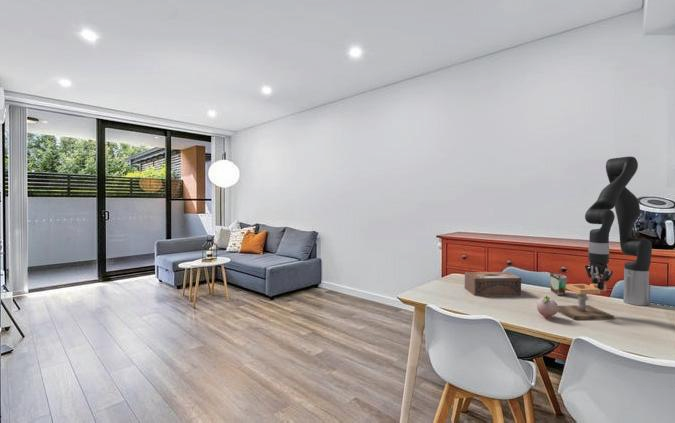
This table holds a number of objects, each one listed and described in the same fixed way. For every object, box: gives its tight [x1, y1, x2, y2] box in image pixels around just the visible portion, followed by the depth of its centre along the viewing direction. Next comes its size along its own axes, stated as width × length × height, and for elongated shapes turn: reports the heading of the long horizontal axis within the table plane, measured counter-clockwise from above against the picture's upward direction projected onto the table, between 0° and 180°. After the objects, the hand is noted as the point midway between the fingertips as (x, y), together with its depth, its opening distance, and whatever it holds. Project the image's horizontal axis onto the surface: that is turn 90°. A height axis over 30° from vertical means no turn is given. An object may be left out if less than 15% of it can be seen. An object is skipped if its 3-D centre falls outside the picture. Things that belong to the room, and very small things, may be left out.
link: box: [565, 283, 608, 295], centre depth 152 cm, size 15×9×3 cm, turn 91°
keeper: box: [557, 293, 614, 321], centre depth 152 cm, size 18×14×10 cm
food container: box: [549, 273, 569, 297], centre depth 184 cm, size 12×6×10 cm, turn 168°
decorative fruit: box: [536, 295, 559, 319], centre depth 148 cm, size 9×8×10 cm
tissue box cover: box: [464, 271, 522, 297], centre depth 189 cm, size 26×14×10 cm, turn 90°
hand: (597, 288), depth 152 cm, fingers closed on link, 2 cm apart
